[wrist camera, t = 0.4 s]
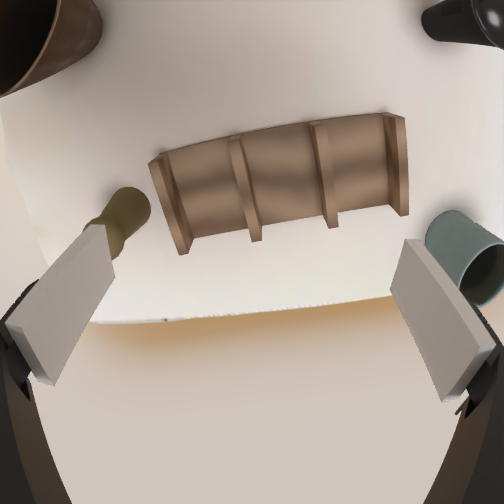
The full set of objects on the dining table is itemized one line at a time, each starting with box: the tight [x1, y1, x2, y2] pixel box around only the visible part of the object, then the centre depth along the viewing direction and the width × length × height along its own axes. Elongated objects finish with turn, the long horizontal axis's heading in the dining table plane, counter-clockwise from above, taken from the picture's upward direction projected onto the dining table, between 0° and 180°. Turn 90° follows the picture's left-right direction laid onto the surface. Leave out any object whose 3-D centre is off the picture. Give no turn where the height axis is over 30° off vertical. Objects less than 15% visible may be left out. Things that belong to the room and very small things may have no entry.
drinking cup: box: [421, 0, 504, 50], centre depth 18 cm, size 8×8×20 cm
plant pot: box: [0, 0, 102, 98], centre depth 21 cm, size 15×15×16 cm
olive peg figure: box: [83, 187, 151, 260], centre depth 36 cm, size 6×6×11 cm
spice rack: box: [148, 113, 409, 255], centre depth 36 cm, size 12×29×5 cm, turn 102°
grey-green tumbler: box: [425, 211, 504, 308], centre depth 36 cm, size 10×10×12 cm
